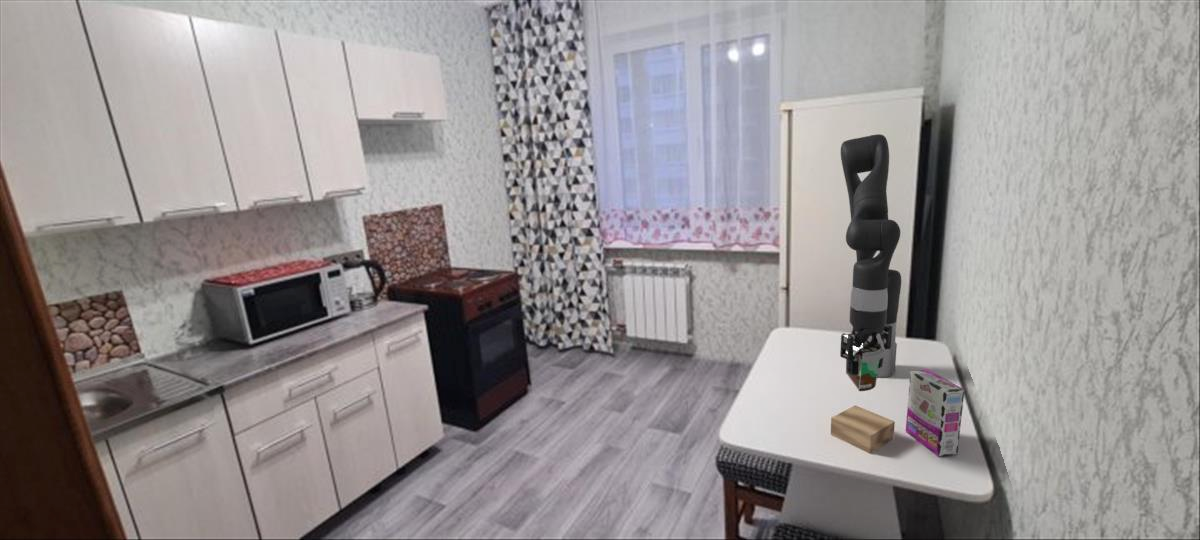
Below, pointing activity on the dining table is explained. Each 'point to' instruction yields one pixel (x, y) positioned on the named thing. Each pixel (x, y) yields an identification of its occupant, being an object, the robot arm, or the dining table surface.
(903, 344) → the dining table surface
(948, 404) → the candy bar box
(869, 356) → the food container
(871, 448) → the oak block
